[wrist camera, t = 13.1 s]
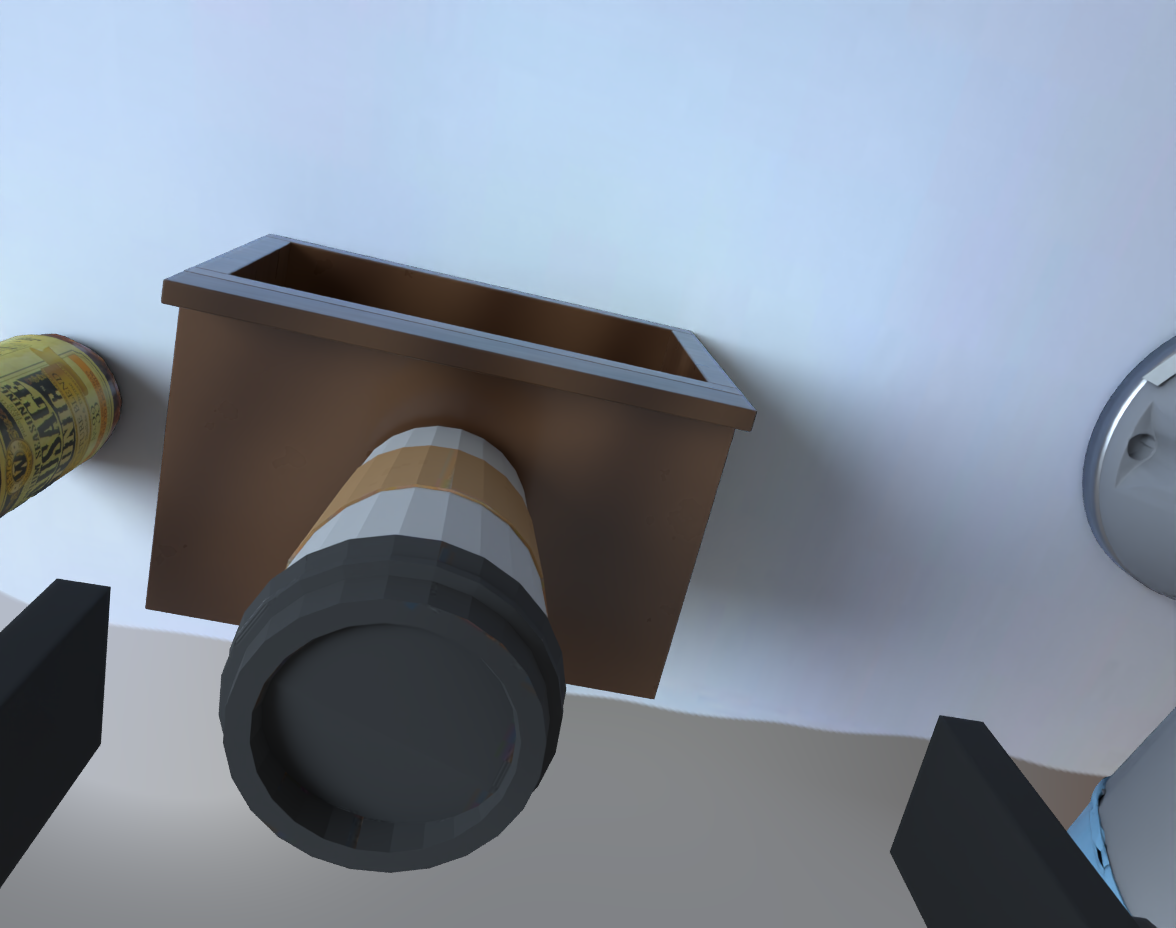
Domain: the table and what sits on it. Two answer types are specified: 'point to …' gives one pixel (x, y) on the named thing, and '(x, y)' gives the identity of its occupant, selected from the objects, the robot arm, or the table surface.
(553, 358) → the box
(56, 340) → the sauce bottle
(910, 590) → the table surface
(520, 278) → the table surface
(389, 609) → the coffee cup
